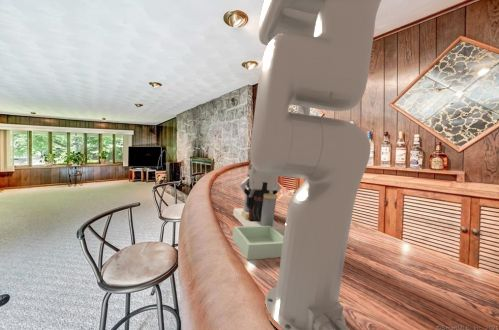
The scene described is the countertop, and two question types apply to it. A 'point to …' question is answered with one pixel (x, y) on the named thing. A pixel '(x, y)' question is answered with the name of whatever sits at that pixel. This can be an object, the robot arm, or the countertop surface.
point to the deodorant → (257, 204)
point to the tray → (258, 241)
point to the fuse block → (266, 214)
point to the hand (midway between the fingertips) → (258, 208)
